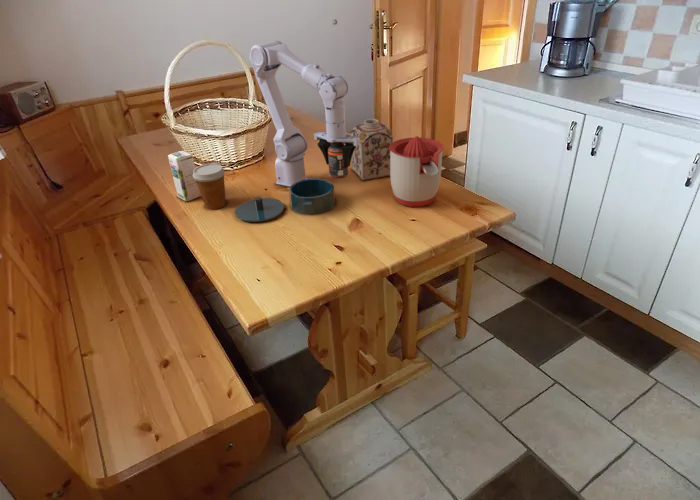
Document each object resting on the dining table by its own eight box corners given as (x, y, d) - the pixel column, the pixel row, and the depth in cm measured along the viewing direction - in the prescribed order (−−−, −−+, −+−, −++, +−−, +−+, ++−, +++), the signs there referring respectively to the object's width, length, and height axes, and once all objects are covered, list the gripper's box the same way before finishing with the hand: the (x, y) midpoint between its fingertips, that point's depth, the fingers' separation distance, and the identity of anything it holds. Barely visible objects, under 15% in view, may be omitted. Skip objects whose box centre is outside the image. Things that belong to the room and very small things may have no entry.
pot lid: (229, 224, 138) (227, 209, 135) (242, 201, 150) (240, 187, 147) (279, 223, 136) (277, 209, 134) (288, 200, 149) (286, 187, 146)
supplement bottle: (346, 179, 143) (344, 143, 137) (327, 178, 145) (324, 143, 138) (350, 171, 148) (348, 136, 142) (331, 170, 149) (329, 136, 143)
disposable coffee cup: (193, 209, 146) (184, 173, 140) (212, 196, 154) (204, 161, 147) (219, 213, 143) (211, 177, 137) (236, 200, 151) (230, 164, 144)
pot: (285, 219, 139) (283, 202, 136) (296, 190, 155) (294, 175, 152) (331, 218, 138) (330, 202, 135) (337, 190, 154) (336, 174, 151)
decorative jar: (381, 163, 171) (381, 113, 161) (394, 175, 161) (394, 123, 152) (350, 168, 168) (348, 118, 158) (361, 181, 158) (359, 128, 149)
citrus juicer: (407, 218, 136) (409, 152, 125) (380, 194, 149) (379, 133, 139) (453, 206, 141) (459, 141, 130) (423, 184, 154) (426, 124, 144)
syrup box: (177, 197, 154) (166, 155, 146) (193, 191, 158) (183, 149, 150) (186, 202, 151) (175, 159, 143) (202, 195, 154) (192, 153, 147)
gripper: (307, 122, 137) (311, 166, 145) (351, 128, 131) (352, 173, 139) (319, 115, 142) (322, 157, 150) (362, 120, 136) (363, 164, 144)
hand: (338, 164), depth 145 cm, fingers closed on supplement bottle, 6 cm apart
